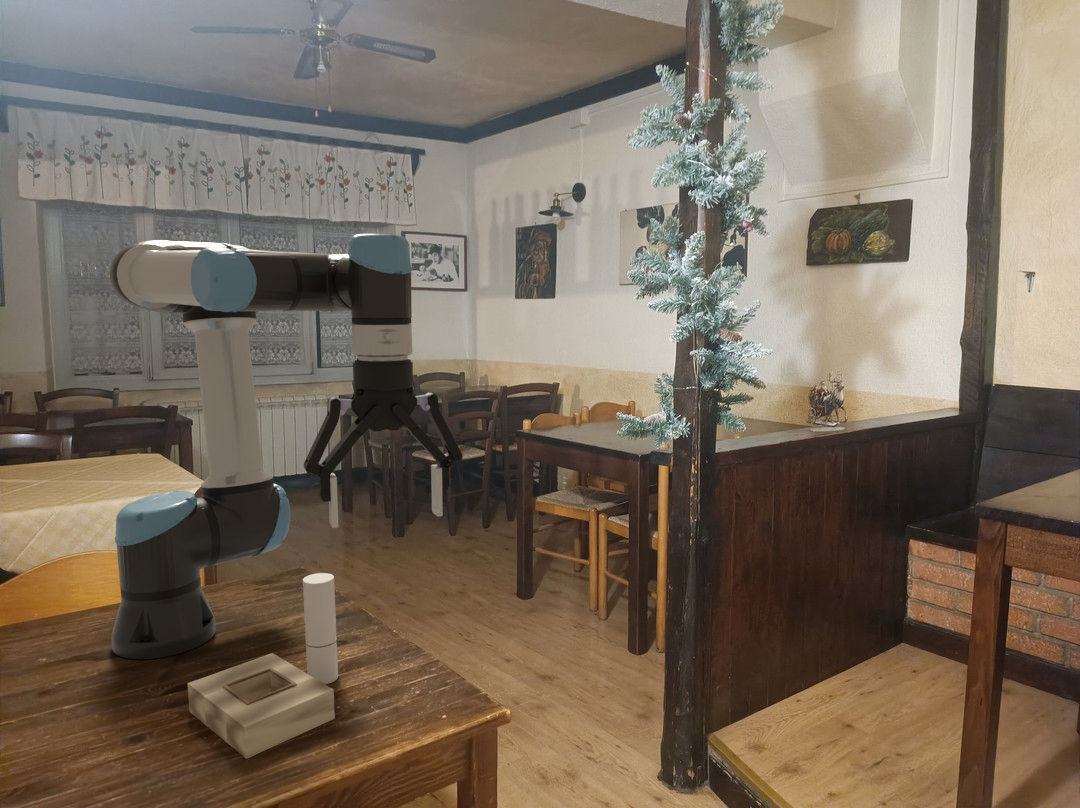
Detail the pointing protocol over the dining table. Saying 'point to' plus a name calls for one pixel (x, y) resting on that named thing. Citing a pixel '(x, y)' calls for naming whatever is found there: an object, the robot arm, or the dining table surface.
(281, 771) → the dining table surface
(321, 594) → the tube
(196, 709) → the socket board
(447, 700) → the dining table surface
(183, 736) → the dining table surface
